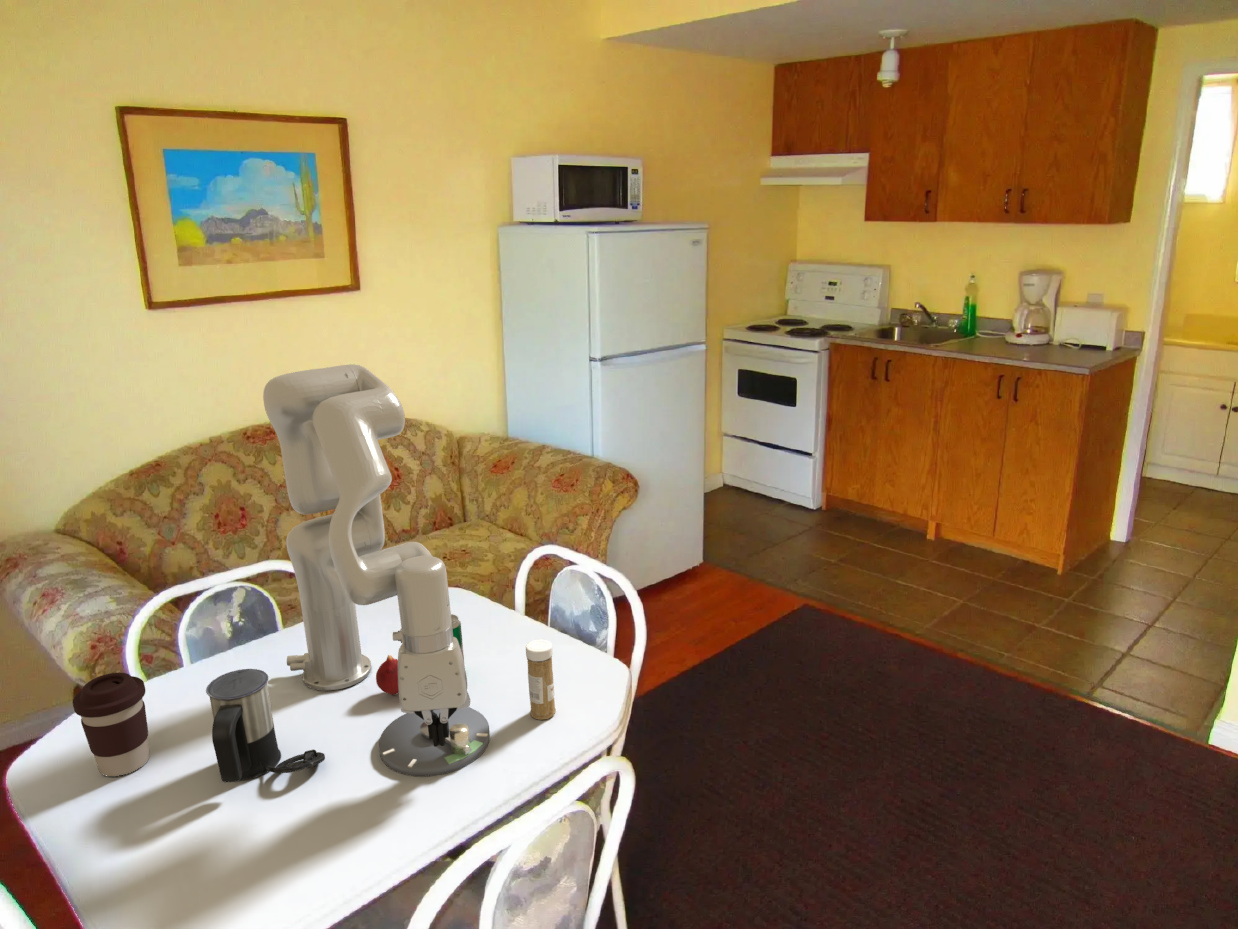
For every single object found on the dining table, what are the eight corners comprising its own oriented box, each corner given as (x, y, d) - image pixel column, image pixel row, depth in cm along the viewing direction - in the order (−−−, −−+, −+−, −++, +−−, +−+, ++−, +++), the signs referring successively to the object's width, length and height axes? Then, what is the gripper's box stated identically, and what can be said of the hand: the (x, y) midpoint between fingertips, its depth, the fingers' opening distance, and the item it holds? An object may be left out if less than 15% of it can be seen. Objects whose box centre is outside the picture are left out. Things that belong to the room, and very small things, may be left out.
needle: (415, 732, 143) (413, 714, 142) (437, 721, 147) (435, 702, 145) (457, 759, 136) (455, 740, 135) (479, 746, 139) (477, 727, 138)
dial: (371, 781, 135) (370, 772, 134) (388, 716, 152) (387, 707, 151) (487, 771, 136) (486, 762, 136) (491, 708, 154) (491, 699, 153)
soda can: (469, 677, 164) (464, 620, 160) (444, 686, 161) (439, 628, 157) (458, 666, 168) (453, 610, 164) (434, 674, 165) (428, 618, 161)
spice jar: (560, 715, 151) (557, 646, 147) (537, 724, 148) (533, 654, 145) (547, 703, 155) (544, 636, 151) (525, 711, 152) (520, 643, 148)
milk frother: (221, 754, 143) (206, 675, 138) (321, 731, 148) (309, 654, 144) (219, 807, 130) (202, 721, 126) (328, 779, 136) (316, 696, 131)
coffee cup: (88, 791, 134) (67, 707, 130) (91, 757, 143) (72, 677, 138) (159, 771, 138) (141, 689, 134) (158, 739, 147) (142, 661, 143)
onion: (417, 690, 160) (413, 651, 158) (397, 706, 155) (392, 666, 153) (392, 683, 162) (387, 645, 160) (371, 699, 157) (366, 660, 155)
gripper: (374, 652, 128) (388, 760, 133) (475, 643, 129) (486, 750, 134) (382, 629, 135) (395, 732, 140) (478, 621, 136) (488, 724, 141)
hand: (440, 741), depth 137 cm, fingers closed
